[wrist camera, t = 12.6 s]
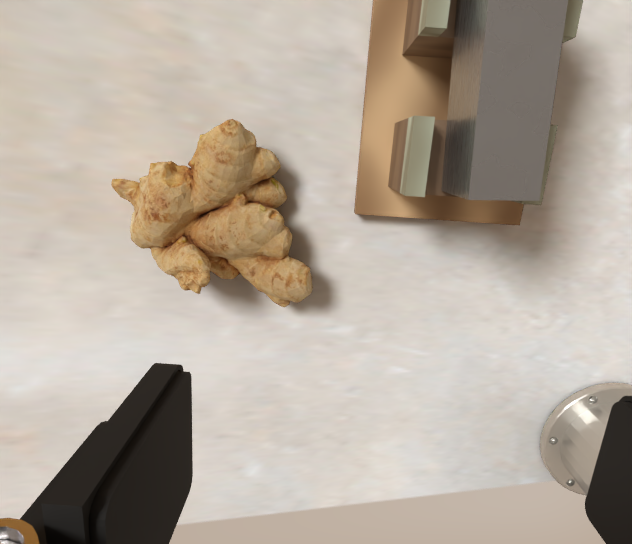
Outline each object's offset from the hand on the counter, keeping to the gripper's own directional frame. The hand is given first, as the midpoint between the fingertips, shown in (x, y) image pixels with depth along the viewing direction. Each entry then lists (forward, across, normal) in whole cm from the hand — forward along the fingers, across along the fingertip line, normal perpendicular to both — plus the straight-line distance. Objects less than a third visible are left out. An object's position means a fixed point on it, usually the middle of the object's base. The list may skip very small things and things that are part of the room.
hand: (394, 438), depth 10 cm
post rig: (+30, -8, -11) cm, 33 cm away
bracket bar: (+23, -8, -11) cm, 27 cm away
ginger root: (+31, +11, 0) cm, 33 cm away
